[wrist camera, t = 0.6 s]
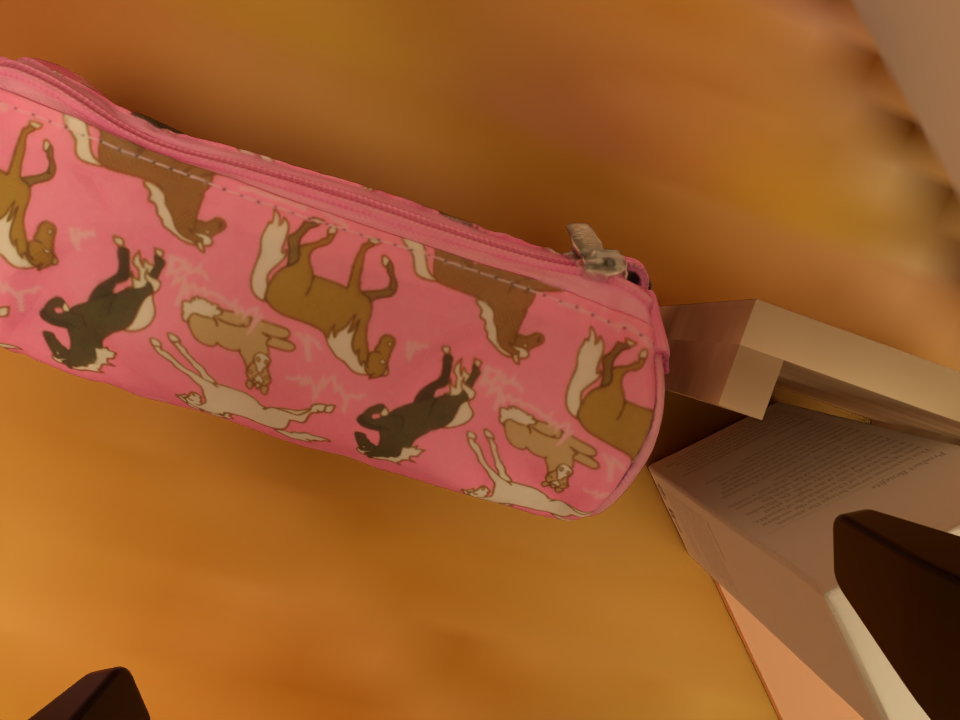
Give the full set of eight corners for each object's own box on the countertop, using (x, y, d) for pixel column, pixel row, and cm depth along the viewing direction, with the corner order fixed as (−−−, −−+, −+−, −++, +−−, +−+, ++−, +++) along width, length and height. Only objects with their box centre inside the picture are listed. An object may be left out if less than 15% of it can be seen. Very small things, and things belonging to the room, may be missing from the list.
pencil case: (637, 270, 25) (740, 240, 16) (568, 495, 25) (631, 587, 16) (92, 100, 24) (-122, -35, 15) (27, 340, 24) (-220, 349, 15)
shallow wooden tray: (885, 466, 26) (1119, 543, 17) (621, 375, 25) (717, 405, 16) (910, 400, 26) (1159, 443, 17) (645, 307, 25) (756, 298, 16)
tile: (989, 654, 26) (1001, 662, 26) (795, 752, 26) (803, 762, 26) (904, 461, 26) (915, 464, 25) (704, 560, 26) (710, 566, 25)
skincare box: (688, 558, 26) (898, 766, 14) (643, 464, 25) (819, 592, 13) (823, 491, 26) (1150, 639, 14) (780, 396, 25) (1076, 463, 13)
